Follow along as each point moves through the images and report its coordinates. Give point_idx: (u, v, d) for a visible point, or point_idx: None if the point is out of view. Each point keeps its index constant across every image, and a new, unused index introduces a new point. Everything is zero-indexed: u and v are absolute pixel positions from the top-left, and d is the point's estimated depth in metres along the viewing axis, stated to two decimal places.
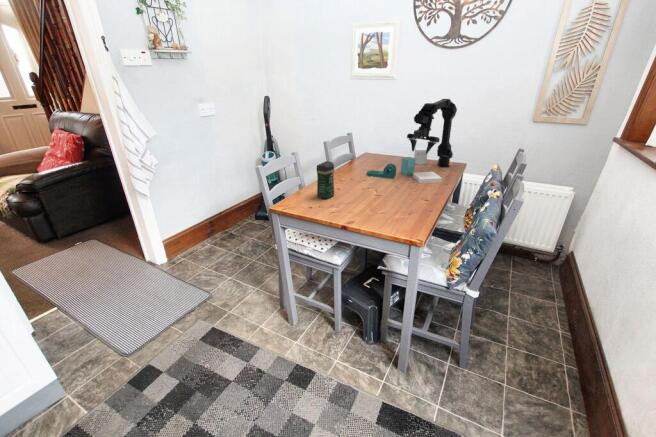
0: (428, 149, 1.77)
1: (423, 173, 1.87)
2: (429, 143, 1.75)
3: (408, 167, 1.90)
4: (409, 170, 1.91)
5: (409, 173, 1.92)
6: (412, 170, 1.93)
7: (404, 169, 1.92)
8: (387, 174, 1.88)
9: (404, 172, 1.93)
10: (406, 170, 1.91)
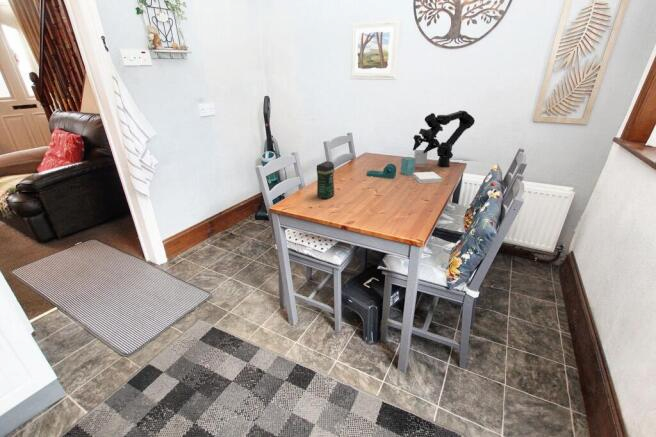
0: (426, 149, 1.88)
1: (423, 173, 1.87)
2: (429, 143, 1.87)
3: (408, 167, 1.90)
4: (409, 170, 1.91)
5: (409, 173, 1.92)
6: (412, 170, 1.93)
7: (404, 169, 1.92)
8: (387, 174, 1.87)
9: (404, 172, 1.93)
10: (406, 170, 1.91)
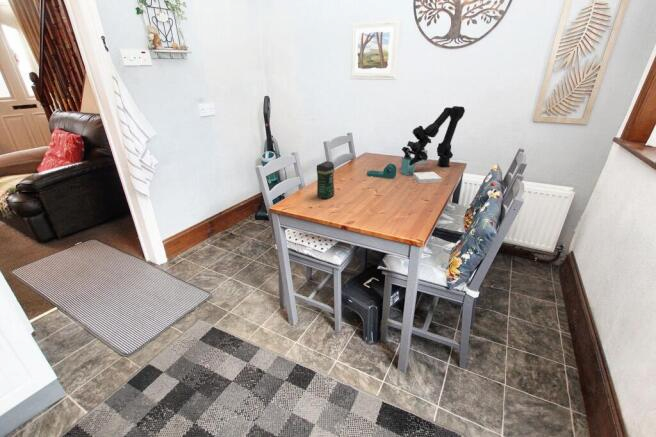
0: (413, 161, 1.89)
1: (423, 173, 1.87)
2: (415, 155, 1.87)
3: (408, 167, 1.90)
4: (409, 170, 1.91)
5: (409, 173, 1.92)
6: (412, 170, 1.93)
7: (404, 169, 1.92)
8: (387, 174, 1.87)
9: (404, 171, 1.93)
10: (406, 170, 1.91)
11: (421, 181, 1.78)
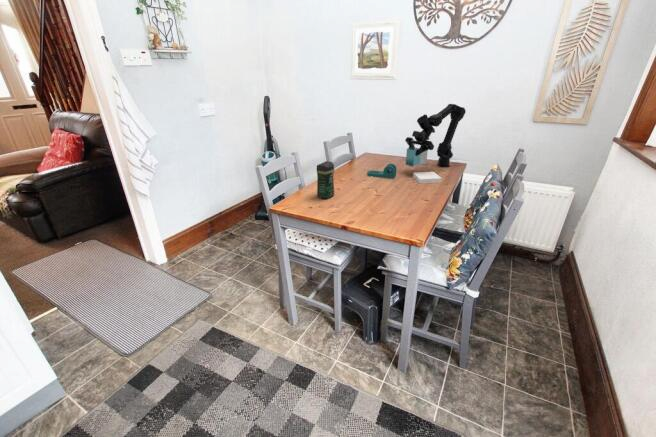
0: (419, 151, 1.83)
1: (423, 173, 1.87)
2: (422, 145, 1.81)
3: (414, 157, 1.84)
4: (415, 161, 1.85)
5: (415, 164, 1.86)
6: (418, 161, 1.87)
7: (410, 159, 1.86)
8: (387, 174, 1.87)
9: (410, 163, 1.87)
10: (412, 160, 1.85)
11: (421, 181, 1.78)
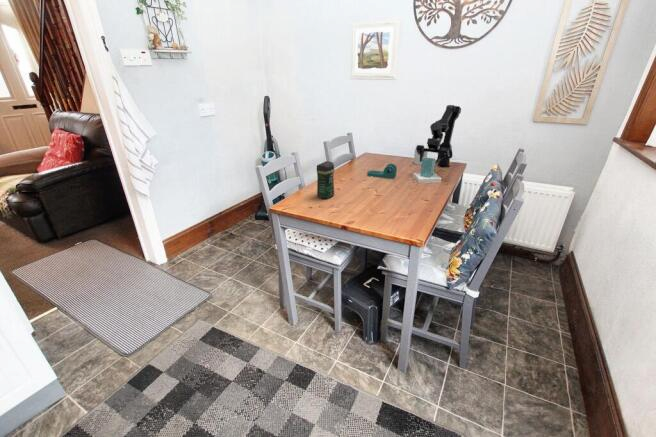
0: (438, 159, 1.76)
1: None
2: (440, 153, 1.75)
3: (431, 168, 1.78)
4: (431, 171, 1.79)
5: (431, 174, 1.81)
6: (433, 171, 1.82)
7: (427, 170, 1.79)
8: (387, 174, 1.87)
9: (426, 174, 1.80)
10: (429, 171, 1.79)
11: (421, 181, 1.78)
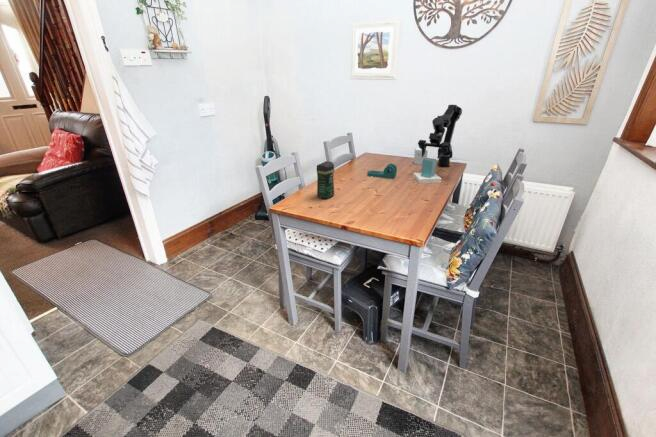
0: (440, 154, 1.77)
1: None
2: (442, 148, 1.76)
3: (431, 168, 1.77)
4: (432, 172, 1.79)
5: (432, 175, 1.80)
6: (433, 171, 1.81)
7: (427, 171, 1.79)
8: (387, 174, 1.87)
9: (427, 174, 1.80)
10: (429, 172, 1.78)
11: (421, 181, 1.78)
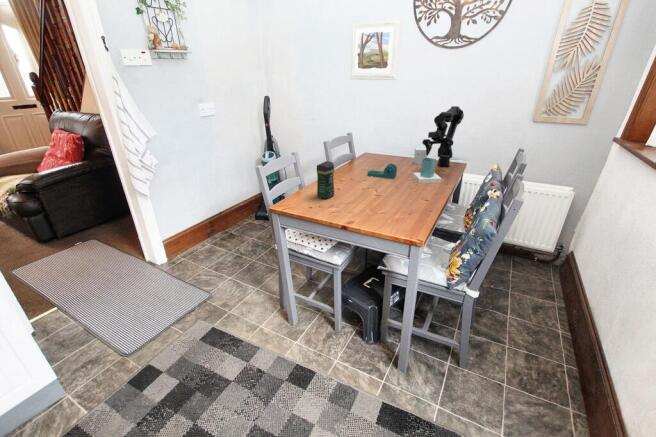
0: (442, 150, 1.81)
1: None
2: (443, 144, 1.80)
3: (431, 169, 1.77)
4: (431, 172, 1.79)
5: (431, 175, 1.80)
6: (433, 171, 1.81)
7: (426, 171, 1.79)
8: (387, 174, 1.87)
9: (426, 174, 1.80)
10: (429, 172, 1.78)
11: (421, 181, 1.78)
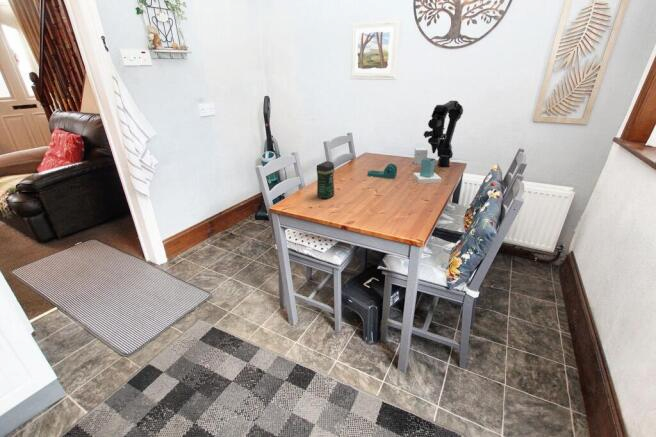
0: (432, 149, 1.88)
1: None
2: None
3: (430, 168, 1.78)
4: (431, 172, 1.79)
5: (431, 175, 1.81)
6: (432, 171, 1.81)
7: (426, 171, 1.79)
8: (388, 174, 1.87)
9: (426, 174, 1.80)
10: (428, 171, 1.79)
11: (421, 181, 1.78)
